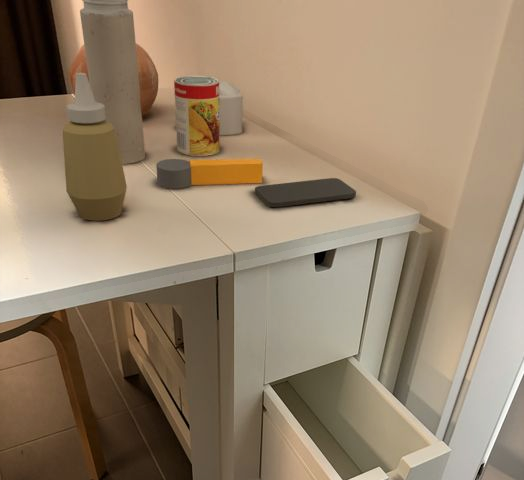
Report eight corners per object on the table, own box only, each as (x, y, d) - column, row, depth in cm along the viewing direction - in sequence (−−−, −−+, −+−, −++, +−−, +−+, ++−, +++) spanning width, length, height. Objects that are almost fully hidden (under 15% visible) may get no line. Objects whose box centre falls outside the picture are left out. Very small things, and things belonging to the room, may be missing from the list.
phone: (252, 186, 87) (337, 177, 92) (252, 191, 87) (336, 182, 92) (270, 203, 81) (359, 193, 86) (269, 209, 82) (358, 198, 87)
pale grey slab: (244, 134, 113) (245, 88, 108) (180, 135, 111) (177, 88, 105) (236, 121, 121) (237, 77, 116) (176, 121, 119) (174, 77, 114)
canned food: (228, 151, 104) (228, 81, 96) (194, 159, 99) (192, 86, 92) (202, 141, 108) (200, 73, 101) (169, 148, 104) (164, 78, 97)
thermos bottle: (89, 158, 97) (61, -36, 80) (118, 147, 103) (97, -37, 86) (126, 167, 94) (105, -33, 78) (154, 154, 100) (139, -33, 83)
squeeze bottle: (67, 205, 80) (44, 68, 69) (124, 200, 82) (109, 66, 72) (73, 228, 74) (48, 81, 63) (134, 221, 77) (120, 79, 66)
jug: (70, 107, 124) (53, 3, 113) (149, 103, 130) (141, 3, 119) (82, 129, 111) (65, 13, 99) (170, 123, 117) (163, 13, 105)
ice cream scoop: (158, 189, 87) (157, 169, 85) (156, 177, 91) (155, 157, 89) (264, 186, 90) (264, 166, 88) (257, 174, 94) (258, 155, 92)
